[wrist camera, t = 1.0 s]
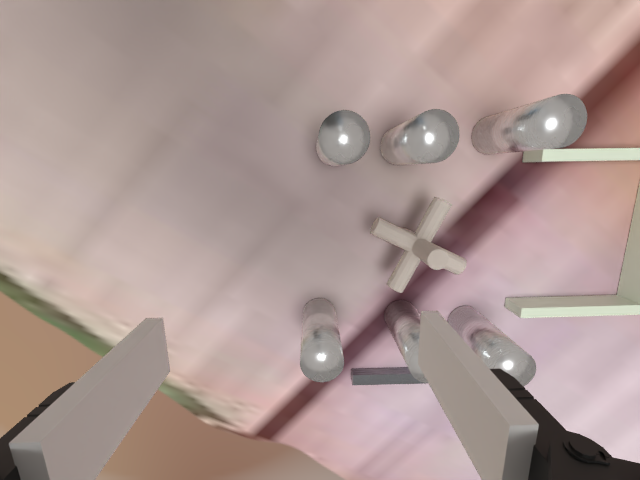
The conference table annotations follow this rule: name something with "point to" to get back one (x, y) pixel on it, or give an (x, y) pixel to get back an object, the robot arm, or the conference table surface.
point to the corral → (636, 276)
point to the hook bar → (382, 376)
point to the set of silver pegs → (431, 147)
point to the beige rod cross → (418, 245)
